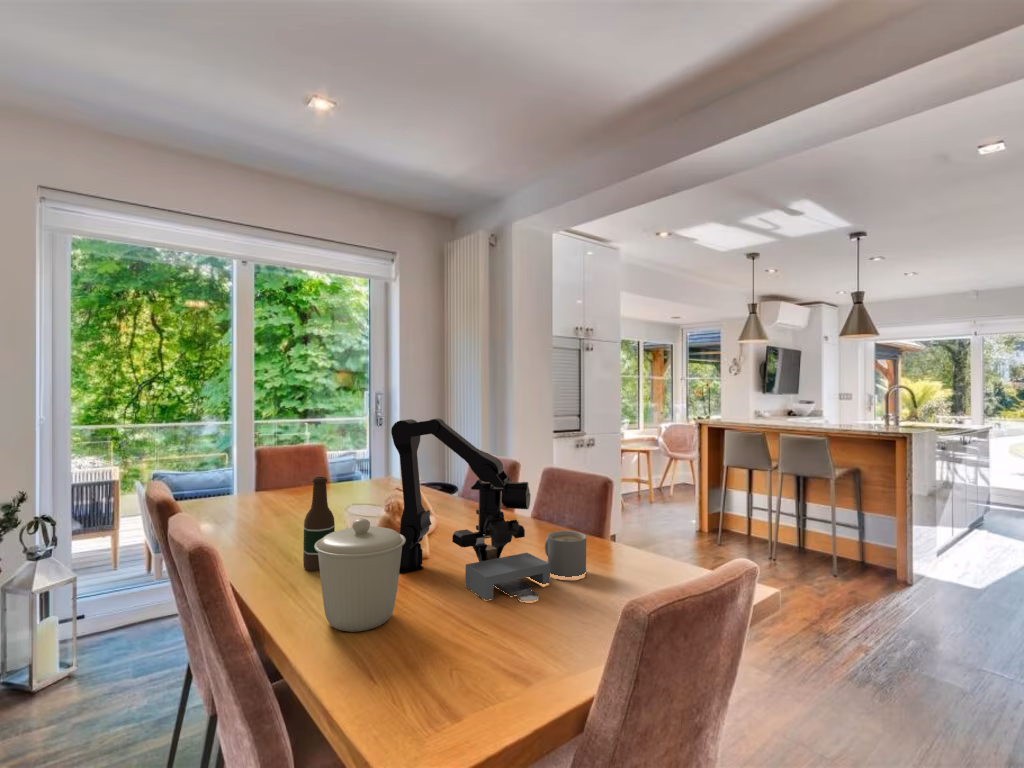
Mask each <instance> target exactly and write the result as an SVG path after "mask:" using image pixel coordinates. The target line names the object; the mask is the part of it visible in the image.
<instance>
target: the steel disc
mask: <svg viewBox="0 0 1024 768" xmlns="http://www.w3.org/2000/svg"><path fill="white" fill-rule="evenodd" d="M517 598H518V599H519V600H521V601H534V600H537V599H538V598H539V599H540V595H539V593H537V592H536V591H522V592H519V593H518V594H517V597H516V599H517Z"/></svg>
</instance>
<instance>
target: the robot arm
mask: <svg viewBox="0 0 1024 768" xmlns="http://www.w3.org/2000/svg"><path fill="white" fill-rule="evenodd" d="M390 433H391V438H392V441H393V445H394V447H395V449H396V451H397V452H398V454H399V464H400V465H399V466H400V476H401V486H402V487H401V488H402V497H403V510H402V514H401V518H400V525H399V532H398V533H399V534H401V535H403V536H404V537H405V539H406V541H405V544H404V545H403V546H402V553H401V562H400V570H399V574H402V573H409V572H413V571H420V570H423V569H424V566H423V549H422V544H421V543H420V542H422V541H423V538H424V537H425V536H426V535H427V534H428V532H429V531H430V526H431V525H432V522H431V510H430V509H427V510H425V508H424V506H423V505H422V504H423V503H422V494H421V484H420V483H421V482H420V472H419V461H418V459H419V458H418V449H419V447H420V443H421V437H422V436H426V435H432V436H434V437H435V438H437V439H438V440H439V441H441V442H442V443H443V444H444V445H445V446H447V448H449V449H450V450H452V452H454V453H455V454H457V455H458V456H459V457H460V458H461V459H462V460H464V461H465V462H466V463H467V465H468V466H469V468H470V470H471V471H472V472H473V473H474V475H475V476H476V477H477V478H478V479H477V480H476V482H475V483H474V484H473V485H472V486H471V487H470V489H471V490H472V491H473V490H475V491H478V509H475V511H476V512H475V513H476V515H478V525H475V529H476V532H473V531H471V530H469V529H461V530H454V532H453V534H452V543H454V544H455V545H457V546H458V547H460V548H469V547H472V548H473V550H474V553H475V555H476V557H477V560H478V562H481V561H486V557H485V549H486V547H487V546H488V545H489V544H487V543H485V539H490V540H491V541H490V543H491V544H490V545H491V546H493V547H495V548H497V558H501V554H502V552H503V550H504V548H505V546H507V545H508V544H509V543H511V542H512V540H513V539H512V538H514V539H519V538H520V539H521V538H525V537H526V533H525V532H526V530H525V527H524V526H523V525H521V524H520V523H519V520H517V519H512V520H505V514H504V511H502V506H501V505H503V506H504V507H505V508H506V509H514V510H516V509H517V510H529V509H530V505H531V493H530V492H531V491H530V487H529V482H528V481H520V482H517V481H516V482H515V481H511V479H510V477H509V476H508V475H507V473H506V471H505V470H504V466H503V465H504V464H503V462H502V461H501V460H500V459H499V458H497V457H496V456H494V455H492V454H490V453H488V452H486V451H483V450H481V449H479V448H477V447H476V446H475V445H473V444H472V443H471V442H470V441H468V440H467V439H465V437H463V436H462V435H461V434H459V433H458V431H456V430H454V429H453V428H452V427H450V425H449V424H447V423H446V422H445V421H444V420H443V419H442V418H438V417H437V418H432V419H430V420H422V421H417V420H416V419H411V418H410V419H402V420H398V421H396V422H395V423H394V424H393V425H392V426H391V430H390Z"/></svg>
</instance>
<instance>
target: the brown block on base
mask: <svg viewBox="0 0 1024 768" xmlns="http://www.w3.org/2000/svg"><path fill="white" fill-rule="evenodd" d="M487 545H488V546H487V547H486V549H485V557H486V560H491V559H496V558H497V548H495V547H493V546H491V544H487ZM494 586H496V587H497V588H499V589H500V590H502V591H504V592H505V593H507V594H509V595H510V596H514V595H517V594H518V593H519V592H522V591H531V590H533V587H532V586H530V585H528V584H527V583H525V582H524V581H522V580H520V579H515V580H511V581H506V582H502V583H497V584H494Z"/></svg>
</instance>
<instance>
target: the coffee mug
mask: <svg viewBox="0 0 1024 768" xmlns="http://www.w3.org/2000/svg"><path fill="white" fill-rule="evenodd" d="M544 552H545V554H546V557H547V562H548V563H550V573H551V574H554V575H558V576H565V577H572V576H579V575H582V574H584V573H585V572H586V573H587V535H585V533H582V532H578V531H573V530H557V531H552V532H549V534H548V535H547V537H546V539H545V541H544Z"/></svg>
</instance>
